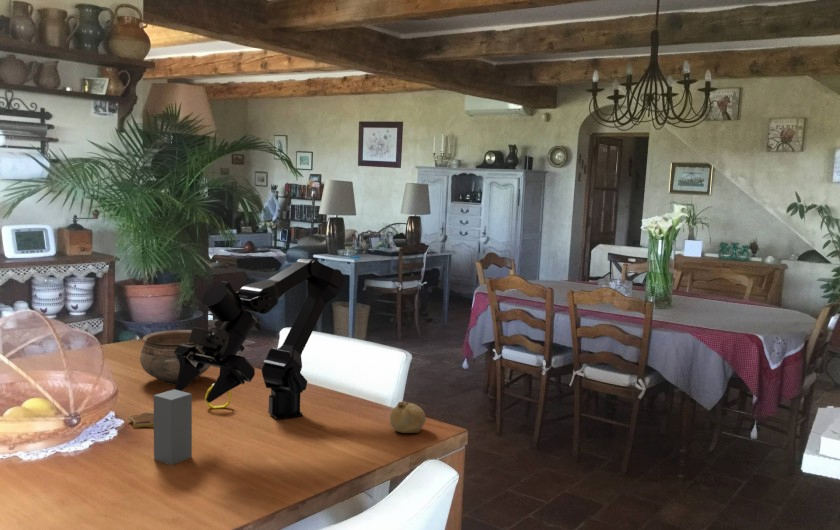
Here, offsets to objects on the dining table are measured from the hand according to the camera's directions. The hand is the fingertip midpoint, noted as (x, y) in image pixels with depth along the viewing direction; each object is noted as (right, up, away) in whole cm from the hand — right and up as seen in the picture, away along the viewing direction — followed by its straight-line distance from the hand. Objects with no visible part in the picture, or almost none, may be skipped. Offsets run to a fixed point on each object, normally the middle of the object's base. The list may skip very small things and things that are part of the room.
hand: (191, 397), depth 143 cm
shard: (-14, -9, +18) cm, 24 cm away
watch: (-3, -8, +28) cm, 30 cm away
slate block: (-3, -12, -3) cm, 12 cm away
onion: (+43, -11, +18) cm, 48 cm away
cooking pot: (-20, -5, +49) cm, 54 cm away
